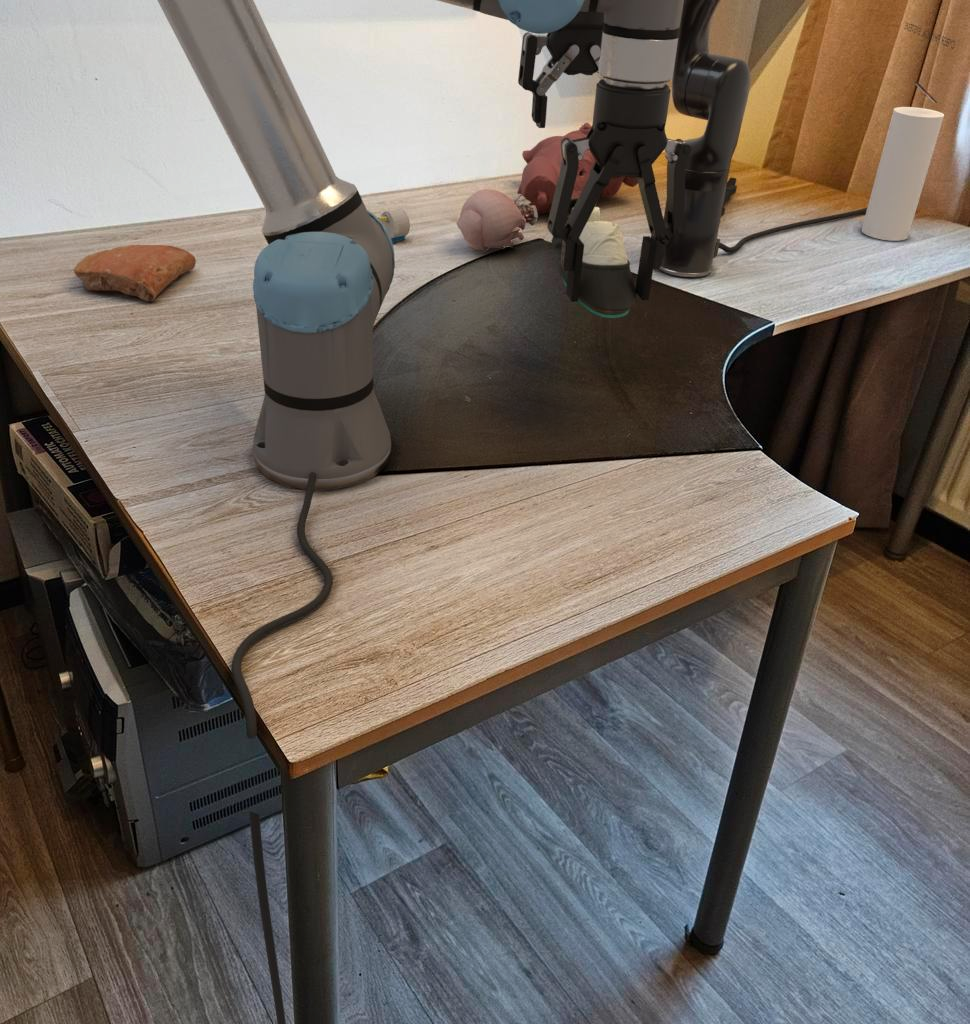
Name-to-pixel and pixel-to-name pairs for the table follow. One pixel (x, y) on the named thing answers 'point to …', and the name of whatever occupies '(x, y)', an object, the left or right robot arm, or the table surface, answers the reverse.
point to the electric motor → (396, 224)
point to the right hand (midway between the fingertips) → (573, 126)
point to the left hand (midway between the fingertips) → (607, 296)
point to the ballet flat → (602, 268)
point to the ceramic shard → (134, 269)
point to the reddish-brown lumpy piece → (546, 168)
